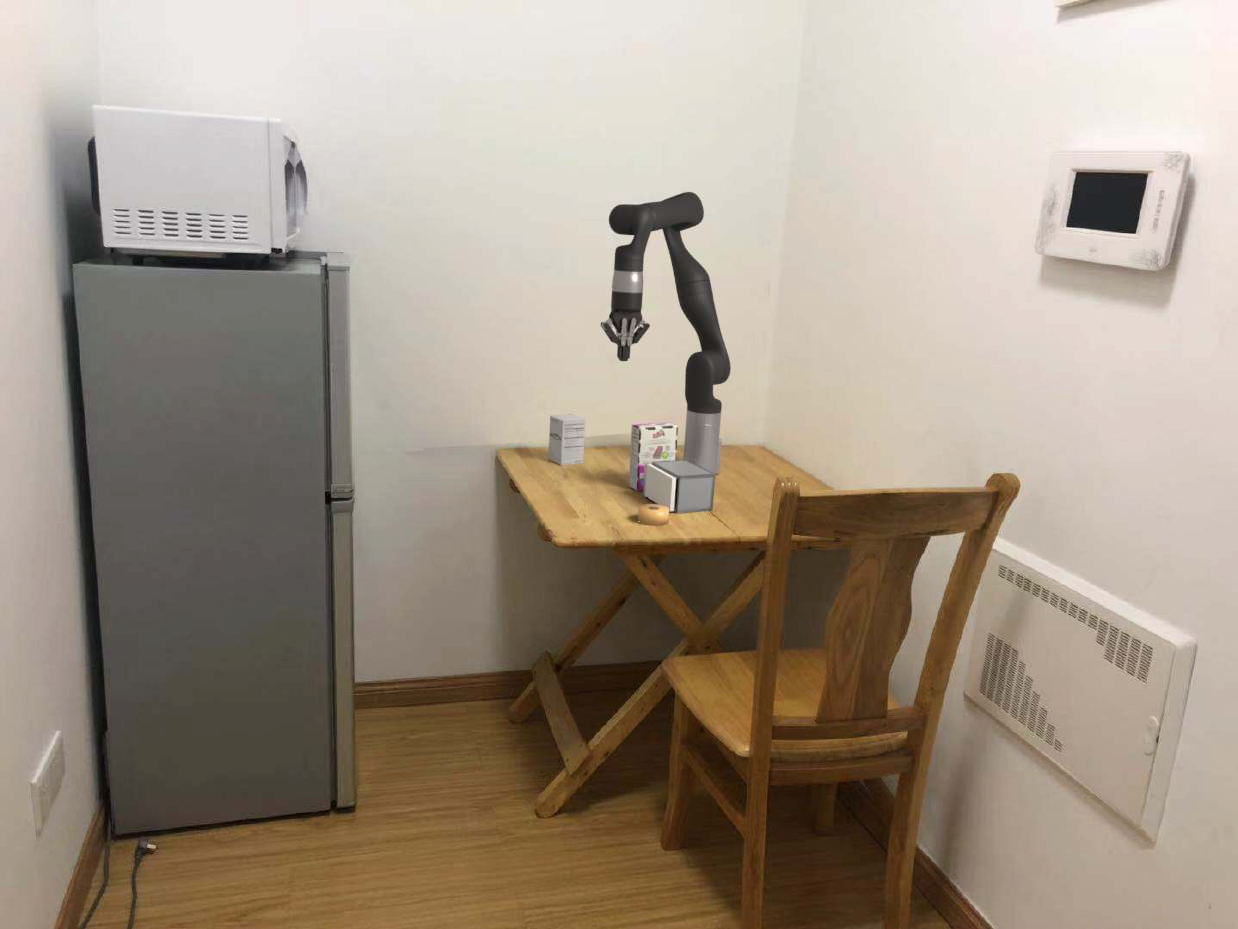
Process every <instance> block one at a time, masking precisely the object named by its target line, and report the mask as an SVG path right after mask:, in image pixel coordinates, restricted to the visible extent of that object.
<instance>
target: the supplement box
mask: <svg viewBox="0 0 1238 929" xmlns="http://www.w3.org/2000/svg"><path fill="white" fill-rule="evenodd" d="M585 433H586V419H585V418H582V417H580V416H577V415H575V414H573V413H566V414H565V413H564V414H563V413H562V414H552V415H550V416H549V436H548V438H549V439H548V456H547V457H548V461H549V460H550V461H552V462H554V463H556V464H558V465H560V466H571V465H580V464H579V463H581V464H583V463H584V456H585V455H584V454H585V452H584V450H585ZM577 463H578V464H577ZM569 464H570V465H569Z"/></svg>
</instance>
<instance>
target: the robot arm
mask: <svg viewBox="0 0 1238 929" xmlns="http://www.w3.org/2000/svg"><path fill="white" fill-rule="evenodd" d="M704 216H705V210H704V206H703V203H702V200H701V198H700V197H699V195H697V194H696V193H695V192H692V191H684V192H682V193H679V194H676V195H673V196H671V197H668V198H664V199H663V200H661V201H651V202H650V201H649V202H645V203H640V204H631V203H630V204H629V203H628V204H625V203H624V204H617V205H615V206H614V207H613V208H612V210H611V211H610V214H609V216H608V224H609V227H610V229H611V231H613V232H614V234H618V235H621V236H633V238H632V241H631V242H630V243H628V244H624V245H619V246H617V247H615V251H614V261H613V262H614V264H613V276H612V282H611V301H610V308H611V309H610V313H609V316H608V319H607V320H605V321H602V322H600V327H601V328H602V330H603V331H604V333H605V335H606V336H607V337H608V339H609V341H610V342H611V343H614V344H616V345H617V350H616V351H617V352H616V353H617V354H616V357H617V359H618V361H620V362H628V361H629V359H631V358H630V357H631V347H632V345H635V344H638V343H639V342H640V341H641V339H642V338H643V336H644V335H645V334H646V332H647V331H648V329H650V327H651V325H650V323H648V322H646V321H645V320H644V319H643V315H642V309H643V308H642V307H643V297H644V296H643V294H644V293H643V292H644V262H645V261H644V259H645V252H646V248H647V246H648V243H649V239H650V236H651V233H653V232H656V231H660V230H662V233H663V235H664V241H665V243H666V246H667V251H668V254H669V257H670V262H671V266H672V268H671V269H672V271H673V277H674V283H675V290H676V294H677V300H678V302H679V307H680V309H681V311H682V313H683V315H685V317H686V319H687V321H688V322H689V324H690V325H691V326H692V328H693V330H694V331H695V332H696V335H697V337H698V338H697V339H698V341H699V345H700V348H701V350H700V351H695V352H693V353H692V354H691V355H689V358H688V359H687V362H686V366H685V376H684V378H685V379H684V382H685V383H684V384H685V385H684V397H685V401H686V404H687V405H686V416H685V418H686V419H685V428H684V429H685V433H684V446H683V456H682V457H683V458H682V460H688V461H690V462H692V463H694V464H696V465H698V466H700V467H702V468H705V469H707V470H709V471H711V472H713V473H715V474H716V475H719V474H720V468H721V458H722V456H721V455H722V444H723V440H722V439H721V438H720V432H721V431H720V429H721V419H722V410H723V408H722V401H721V400H720V399H718V398H716V397H715V396H714V386H715V385H717V386H718V385H721V384H724V383H725V382H727V380H728V379H729V377H730V375H731V367H732V366H731V362H730V361H731V360H730V356H729V353H728V351H727V350H728V349H727V348H726V343H725V341H724V338H723V334H722V331H721V328H720V323H719V318H718V314H717V309H716V305H715V301H714V294H713V288H712V284H711V279H710V275H709V273H708V271H707V270H706V268H704V267H703V265H702V264H701V263H700V262H699V261H698V260H697V259H696V258H694V257H693V255H692V254H691V253H690V252H689V250H688V249H687V247H686V246H685V244H684V241H683V238H682V233H681V232H683V231H685V230H689V229H690V228H691V229H692V228H694V227H696V226H698V225H700V224H701V223H702V221H703V220H704ZM613 327H614V329H615V332H614V329H613Z"/></svg>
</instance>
